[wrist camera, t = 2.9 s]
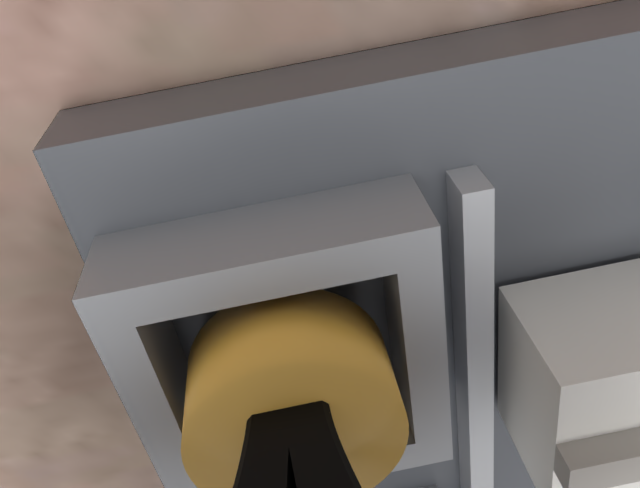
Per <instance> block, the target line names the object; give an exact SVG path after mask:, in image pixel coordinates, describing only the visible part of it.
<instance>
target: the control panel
mask: <svg viewBox="0 0 640 488" xmlns="http://www.w3.org/2000/svg"><path fill="white" fill-rule="evenodd" d="M33 153H34V155H35V157H36V159H37V162H38V164H39V166H40V168H41V170H42V172H43V175H44V177H45V179H46V181H47V183H48V185H49V188H50V190H51V192H52V194H53V196H54V198H55V201H56V203H57V205H58V207H59V209H60V211H61V214H62V216H63V218H64V220H65V222H66V224H67V227H68V229H69V231H70V233H71V235H72V237H73V240H74V242H75V244H76V246H77V248H78V250H79V253H80V255H81V257H82V259H83V261H84V263H85V265H84V267H83V270H82V273H81V276H80V278H79V281H78V284H77V287H76V290H75V292H74V295H73V298H72V302H73V304H74V306H75V308H76V310H77V312H78V314H79V316H80V318H81V320H82V322H83V324H84V327H85V329H86V331H87V333H88V335H89V337H90V339H91V341H92V343H93V345H94V347H95V349H96V351H97V353H98V355H99V357H100V359H101V361H102V363H103V365H104V367H105V369H106V371H107V373H108V375H109V377H110V379H111V381H112V383H113V385H114V387H115V389H116V391H117V393H118V395H119V397H120V399H121V401H122V403H123V405H124V407H125V409H126V411H127V413H128V415H129V417H130V419H131V421H132V423H133V425H134V427H135V429H136V431H137V433H138V435H139V437H140V439H141V441H142V443H143V445H144V447H145V449H146V451H147V453H148V455H149V457H150V459H151V461H152V463H153V465H154V468H155V470H156V472H157V474H158V476H159V478H160V480H161V482H162V484H163V486H164V488H197V487H196V485H195V484H194V483H193V482H192V481H191V479H190V478H189V476H188V474H187V473H186V471H185V468H184V465H183V462H182V458H181V439H182V427H183V415H184V403H185V391H186V379H187V368H188V357H189V353H190V349H191V346H192V344H193V342H194V340H195V338H196V336H197V334H198V333H199V331H200V330H201V328H202V327H203V326H204V325H205V324H206V323H207V322H208V320H209V319H211V318H212V317H213V316H214V315H215V314H216V313H217V312H219V311H220V310H222V309H227V308H232V307H237V306H241V305H246V304H251V303H256V302H261V301H266V300H271V299H276V298H281V297H286V296H291V295H296V294H300V293H305V292H310V291H315V290H325V291H328V292H332V293H335V294H338V295H340V296H342V297H345V298H347V299H349V300H350V301H352V302H354V303H355V304H357V305H358V306H360V307H361V308H362V309H363V310H364V311H366V312H367V313H368V314H369V316H370V317H371V318H372V319H373V320H374V322H375V323H376V325H377V326H378V328H379V330H380V332H381V335H382V337H383V340H384V343H385V347H386V350H387V353H388V356H389V359H390V362H391V366H392V369H393V372H394V375H395V378H396V381H397V385H398V388H399V391H400V394H401V397H402V400H403V403H404V407H405V410H406V413H407V417H408V422H409V436H408V442H407V445H406V448H405V451H404V453H403V455H402V457H401V459H400V461H399V462H398V464H397V465H396V466H395V468H394V469H393V470H392V472H391V473H390V474H389V475H388V476H387V477H386V478H385V479H384V480H383V481H381V482H380V483H379V484H378V485H376V486H375V487H374V488H535V485H534V483H533V481H532V479H531V477H530V475H529V473H528V471H527V469H526V467H525V465H524V463H523V461H522V459H521V457H520V454H519V452H518V450H517V448H516V446H515V444H514V442H513V440H512V438H511V436H510V434H509V432H508V430H507V428H506V425H505V423H504V421H503V419H502V417H501V415H500V413H499V411H498V304H499V287H501V286H506V285H511V284H516V283H521V282H525V281H530V280H535V279H540V278H545V277H550V276H555V275H560V274H565V273H569V272H574V271H579V270H584V269H589V268H594V267H599V266H604V265H609V264H613V263H618V262H623V261H628V260H633V259H638V258H640V0H620V1H615V2H610V3H605V4H600V5H595V6H590V7H585V8H580V9H575V10H570V11H564V12H559V13H554V14H549V15H544V16H539V17H534V18H529V19H524V20H519V21H514V22H508V23H503V24H498V25H493V26H488V27H483V28H478V29H473V30H468V31H463V32H458V33H452V34H447V35H442V36H437V37H432V38H427V39H422V40H417V41H412V42H407V43H402V44H396V45H391V46H386V47H381V48H376V49H371V50H366V51H361V52H356V53H351V54H346V55H340V56H335V57H330V58H325V59H320V60H315V61H310V62H305V63H300V64H295V65H290V66H284V67H279V68H274V69H269V70H264V71H259V72H254V73H249V74H244V75H239V76H234V77H228V78H223V79H218V80H213V81H208V82H203V83H198V84H193V85H188V86H183V87H177V88H172V89H167V90H162V91H157V92H152V93H147V94H142V95H137V96H132V97H127V98H121V99H116V100H111V101H106V102H101V103H96V104H91V105H86V106H81V107H76V108H71V109H65V110H60V111H59V112H58V114H57V115H56V117H55V118H54V120H53V121H52V123H51V124H50V126H49V127H48V129H47V130H46V132H45V133H44V135H43V136H42V138H41V139H40V141H39V142H38V144H37V145H36V147H35V148H34V150H33Z"/></svg>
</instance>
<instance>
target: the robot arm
mask: <svg viewBox="0 0 640 488" xmlns="http://www.w3.org/2000/svg"><path fill="white" fill-rule="evenodd" d="M233 488H362V487H361V485H360V483H359V481H358V479H357V477H356V475H355V473H354V471H353V469H352V467H351V464H350V462H349V460H348V458H347V455H346V453H345V451H344V449H343V446H342V444H341V441H340V439H339V436H338V434H337V431H336V428H335V425H334V422H333V418H332V415H331V410H330V406H329V404H328V403H326V402H324V401H322V400H321V401H316V402H311V403H307V404H302V405H297V406H292V407H287V408H282V409H278V410H273V411H268V412H263V413H258V414H253V415H251V416H250V418H249V419H248V420H247V423H246V430H245V436H244V442H243V447H242V452H241V457H240V461H239V465H238V470H237V474H236V477H235V481H234V485H233Z"/></svg>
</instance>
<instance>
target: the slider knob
mask: <svg viewBox="0 0 640 488" xmlns="http://www.w3.org/2000/svg"><path fill="white" fill-rule="evenodd" d="M498 411H499V413H500V415H501V417H502V419H503V421H504V423H505V425H506V428H507V430H508V432H509V434H510V436H511V438H512V440H513V442H514V444H515V446H516V448H517V450H518V452H519V454H520V457H521V459H522V461H523V463H524V465H525V467H526V469H527V471H528V473H529V475H530V477H531V479H532V481H533V483H534V485H535V488H640V258H638V259H633V260H628V261H623V262H618V263H613V264H609V265H604V266H599V267H594V268H589V269H584V270H579V271H574V272H569V273H565V274H560V275H555V276H550V277H545V278H540V279H535V280H530V281H525V282H521V283H516V284H511V285H506V286H501V287H499V304H498Z"/></svg>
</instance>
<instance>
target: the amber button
mask: <svg viewBox="0 0 640 488" xmlns="http://www.w3.org/2000/svg"><path fill="white" fill-rule="evenodd" d="M321 400H322V401H324V402H326V403H328V404H329V406H330V410H331V415H332V418H333V422H334V425H335V428H336V431H337V434H338V436H339V439H340V441H341V444H342V446H343V449H344V451H345V453H346V455H347V458H348V460H349V462H350V464H351V467H352V469H353V471H354V473H355V475H356V477H357V479H358V481H359V483H360V485H361V487H362V488H374V487H375V486H376V485H378V484H379V483H380V482H381V481H383V480H384V479H385V478H386V477H387V476H388V475H389V474H390V473H391V472H392V470H393V469H394V468H395V466H396V465H397V464H398V462H399V461H400V459H401V457H402V455H403V453H404V451H405V448H406V445H407V442H408V436H409V422H408V417H407V413H406V410H405V407H404V403H403V400H402V397H401V394H400V391H399V388H398V385H397V381H396V378H395V375H394V372H393V369H392V366H391V362H390V359H389V356H388V353H387V350H386V347H385V343H384V340H383V337H382V335H381V332H380V330H379V328H378V326H377V325H376V323H375V322H374V320H373V319H372V318H371V317H370V316H369V314H368V313H367V312H366V311H364V310H363V309H362V308H361V307H360V306H358V305H357V304H355V303H354V302H352V301H350V300H349V299H347V298H345V297H342V296H340V295H338V294H335V293H332V292H328V291H325V290H315V291H310V292H305V293H300V294H296V295H291V296H286V297H281V298H276V299H271V300H266V301H261V302H256V303H251V304H246V305H241V306H237V307H232V308H227V309H222V310H220V311H219V312H217V313H216V314H215V315H214V316H213V317H212V318H211V319H209V320H208V322H207V323H206V324H205V325H204V326H203V327H202V328H201V330H200V331H199V333H198V334H197V336H196V338H195V340H194V342H193V344H192V346H191V349H190V353H189V357H188V368H187V379H186V391H185V403H184V415H183V427H182V439H181V458H182V462H183V465H184V468H185V471H186V473H187V474H188V476H189V478H190V479H191V481H192V482H193V483H194V484H195V485H196V487H197V488H233V485H234V481H235V477H236V474H237V470H238V465H239V461H240V457H241V452H242V447H243V442H244V436H245V430H246V423H247V420H248V419H249V418H250V416H251V415H253V414H258V413H263V412H268V411H273V410H278V409H282V408H287V407H292V406H297V405H302V404H307V403H311V402H316V401H321Z"/></svg>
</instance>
